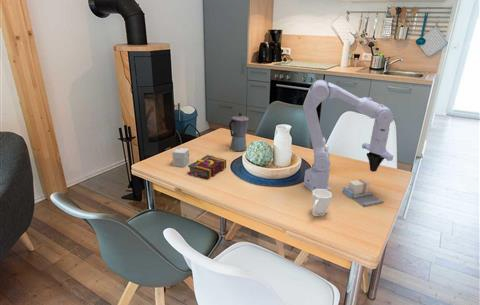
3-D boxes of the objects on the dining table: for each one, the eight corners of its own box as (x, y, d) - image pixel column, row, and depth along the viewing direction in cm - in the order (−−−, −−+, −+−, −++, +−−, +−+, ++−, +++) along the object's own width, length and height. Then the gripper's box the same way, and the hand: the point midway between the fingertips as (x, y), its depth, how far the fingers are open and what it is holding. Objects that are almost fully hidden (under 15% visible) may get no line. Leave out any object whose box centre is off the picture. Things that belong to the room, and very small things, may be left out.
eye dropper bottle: (324, 162, 160) (327, 139, 155) (314, 159, 163) (316, 137, 158) (328, 160, 163) (331, 137, 158) (318, 157, 166) (320, 135, 162)
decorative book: (227, 168, 152) (227, 158, 150) (207, 181, 139) (206, 171, 137) (207, 163, 158) (207, 153, 156) (186, 175, 145) (186, 165, 143)
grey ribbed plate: (362, 208, 120) (364, 201, 119) (341, 192, 131) (342, 185, 130) (384, 203, 123) (385, 196, 122) (361, 188, 134) (362, 182, 133)
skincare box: (184, 167, 152) (183, 153, 149) (172, 166, 153) (171, 151, 150) (189, 162, 157) (189, 148, 154) (178, 161, 159) (177, 147, 156)
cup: (332, 211, 118) (335, 192, 115) (322, 224, 110) (324, 203, 107) (314, 205, 121) (316, 186, 118) (303, 217, 114) (305, 197, 111)
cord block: (353, 196, 127) (355, 185, 125) (347, 192, 130) (349, 181, 128) (367, 193, 129) (369, 182, 127) (361, 189, 132) (363, 178, 130)
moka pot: (252, 147, 178) (254, 112, 171) (238, 155, 166) (238, 118, 159) (238, 143, 183) (238, 109, 176) (223, 151, 171) (222, 115, 164)
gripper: (402, 143, 117) (395, 176, 123) (374, 131, 130) (368, 162, 135) (387, 145, 115) (380, 179, 120) (359, 133, 128) (354, 164, 133)
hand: (373, 170), depth 128 cm, fingers closed
